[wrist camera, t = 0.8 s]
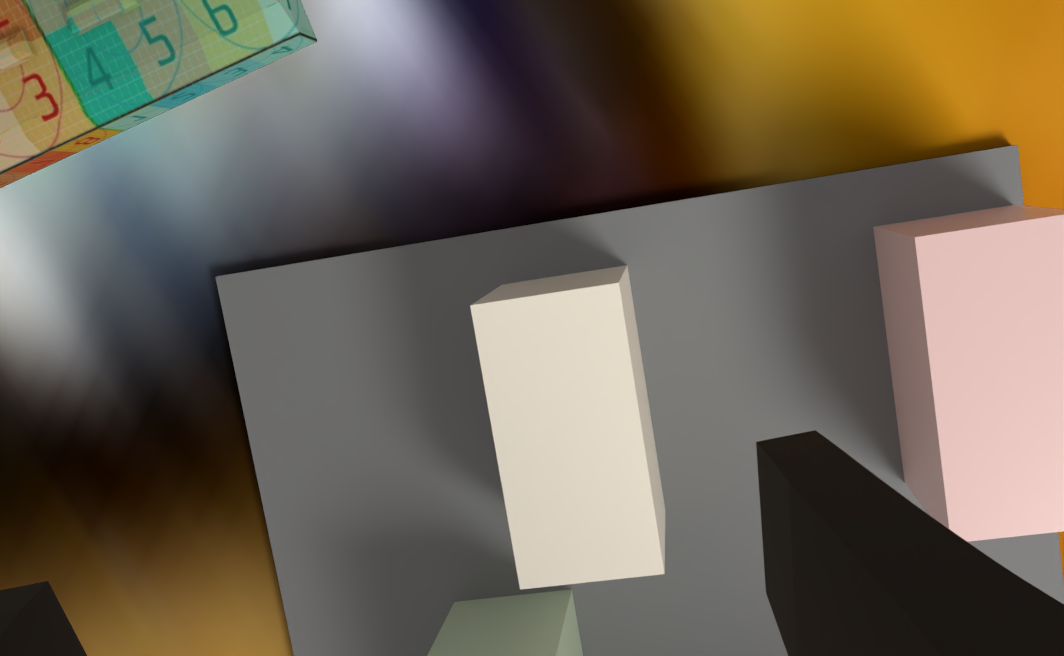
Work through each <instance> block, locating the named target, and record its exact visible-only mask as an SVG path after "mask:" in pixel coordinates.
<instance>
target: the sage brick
mask: <svg viewBox="0 0 1064 656" xmlns="http://www.w3.org/2000/svg"><path fill="white" fill-rule="evenodd" d="M427 656H583V653H582V647H581V641H580V635H579V629H578V623H577V617H576V611H575V605H574V599H573V593H572V589H570V590H561V591H552V592H542V593H533V594H523V595H514V596H505V597H495V598H486V599H476V600H467V601H458V602H454V604H453V606H452V608H451V610H450V612H449V614H448V616H447V618H446V620H445V622H444V624H443V626H442V628H441V629H440V631H439V633H438V635H437V637H436V639H435V641H434V643H433V645H432V647H431V649H430V651H429V653H428V655H427Z"/></svg>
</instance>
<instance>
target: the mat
mask: <svg viewBox="0 0 1064 656" xmlns="http://www.w3.org/2000/svg"><path fill="white" fill-rule="evenodd" d="M1010 205H1020V206H1024V202H1023V192H1022V183H1021V173H1020V164H1019V154H1018V145H1011V146H1005V147H999V148H993V149H987V150H981V151H975V152H969V153H962V154H956V155H950V156H944V157H938V158H932V159H926V160H920V161H914V162H908V163H902V164H896V165H890V166H883V167H877V168H871V169H865V170H859V171H853V172H847V173H841V174H835V175H829V176H823V177H817V178H810V179H804V180H798V181H792V182H786V183H780V184H774V185H768V186H762V187H756V188H750V189H744V190H738V191H731V192H725V193H719V194H713V195H707V196H701V197H695V198H689V199H683V200H677V201H671V202H665V203H658V204H652V205H646V206H640V207H634V208H628V209H622V210H616V211H610V212H604V213H598V214H592V215H585V216H579V217H573V218H567V219H561V220H555V221H549V222H543V223H537V224H531V225H525V226H519V227H513V228H506V229H500V230H494V231H488V232H482V233H476V234H470V235H464V236H458V237H452V238H446V239H440V240H433V241H427V242H421V243H415V244H409V245H403V246H397V247H391V248H385V249H379V250H373V251H367V252H361V253H354V254H348V255H342V256H336V257H330V258H324V259H318V260H312V261H306V262H300V263H294V264H288V265H281V266H275V267H269V268H263V269H257V270H251V271H245V272H239V273H233V274H227V275H221V276H216V282H217V287H218V292H219V297H220V302H221V306H222V311H223V316H224V321H225V326H226V331H227V335H228V340H229V345H230V350H231V355H232V359H233V364H234V369H235V374H236V379H237V384H238V388H239V393H240V398H241V403H242V408H243V413H244V417H245V422H246V427H247V432H248V437H249V442H250V446H251V451H252V456H253V461H254V466H255V470H256V475H257V480H258V485H259V490H260V495H261V499H262V504H263V509H264V514H265V519H266V524H267V528H268V533H269V538H270V543H271V548H272V553H273V557H274V562H275V567H276V572H277V577H278V582H279V586H280V591H281V596H282V601H283V606H284V610H285V615H286V620H287V625H288V630H289V635H290V639H291V644H292V649H293V654H294V656H427V655H428V653H429V651H430V649H431V647H432V645H433V643H434V641H435V639H436V637H437V635H438V633H439V631H440V629H441V628H442V626H443V624H444V622H445V620H446V618H447V616H448V614H449V612H450V610H451V608H452V606H453V604H454V602H458V601H467V600H476V599H486V598H495V597H505V596H514V595H523V594H533V593H542V592H552V591H561V590H570V589H572V593H573V599H574V605H575V611H576V617H577V623H578V629H579V635H580V641H581V647H582V653H583V656H788V653H787V651H786V648H785V645H784V643H783V640H782V637H781V634H780V631H779V628H778V626H777V623H776V620H775V617H774V614H773V611H772V608H771V606H770V603H769V600H768V597H767V594H766V585H765V570H764V555H763V540H762V525H761V510H760V494H759V479H758V464H757V449H756V442H758V441H763V440H768V439H773V438H778V437H783V436H788V435H793V434H798V433H803V432H809V431H814V430H816V431H817V432H819V433H820V434H821V435H823V436H824V437H826V438H827V439H828V440H830V441H831V442H832V443H834V444H835V445H836V446H838V447H839V448H840V449H842V450H843V451H844V452H846V453H847V454H848V455H850V456H851V457H852V458H854V459H855V460H856V461H857V462H859V463H860V464H861V465H863V466H864V467H865V468H867V469H868V470H869V471H871V472H872V473H873V474H875V475H876V476H877V477H879V478H880V479H881V480H882V481H884V482H885V483H886V484H888V485H889V486H890V487H892V488H893V489H895V490H896V491H897V492H899V493H900V494H901V495H903V496H904V497H905V498H907V499H908V500H909V501H911V502H912V503H913V504H915V505H916V506H917V507H919V508H920V509H922V510H923V511H924V512H926V513H927V511H926V510H925V509H924V507H923V506H922V505H921V503H920V502H919V501H918V499H917V498H916V497H915V496H914V494H913V493H912V492H911V490H910V489H909V488H908V486H907V485H906V484H905V480H904V472H903V464H902V456H901V448H900V440H899V432H898V424H897V416H896V408H895V400H894V391H893V383H892V375H891V367H890V359H889V351H888V343H887V335H886V327H885V319H884V311H883V303H882V294H881V286H880V278H879V270H878V262H877V254H876V246H875V238H874V230H873V227H875V226H882V225H888V224H894V223H901V222H907V221H914V220H920V219H927V218H933V217H939V216H946V215H952V214H959V213H965V212H972V211H978V210H984V209H991V208H997V207H1004V206H1010ZM625 265H627V266H628V273H629V279H630V286H631V292H632V299H633V305H634V312H635V318H636V324H637V331H638V337H639V344H640V350H641V357H642V363H643V369H644V376H645V382H646V389H647V395H648V402H649V408H650V415H651V421H652V427H653V434H654V440H655V447H656V453H657V460H658V466H659V473H660V479H661V485H662V492H663V498H664V505H665V574H661V575H652V576H642V577H633V578H624V579H614V580H605V581H596V582H586V583H577V584H568V585H558V586H549V587H540V588H530V589H521V590H520V586H519V581H518V575H517V569H516V564H515V558H514V552H513V546H512V541H511V535H510V529H509V524H508V518H507V512H506V507H505V501H504V495H503V490H502V484H501V478H500V473H499V467H498V461H497V455H496V450H495V444H494V438H493V433H492V427H491V421H490V416H489V410H488V404H487V399H486V393H485V387H484V382H483V376H482V370H481V364H480V359H479V353H478V347H477V342H476V336H475V330H474V325H473V319H472V313H471V308H470V305H472V304H473V303H475V302H476V301H478V300H479V299H481V298H482V297H484V296H485V295H487V294H489V293H490V292H492V291H493V290H495V289H496V288H498V287H499V286H501V285H503V284H509V283H516V282H522V281H528V280H535V279H541V278H548V277H554V276H561V275H567V274H573V273H580V272H586V271H593V270H599V269H605V268H612V267H618V266H625ZM927 514H928V513H927ZM928 515H929V514H928ZM968 543H970V544H971V545H973V546H974V547H976V548H977V549H979V550H980V551H981V552H983V553H984V554H986V555H987V556H989V557H990V558H992V559H993V560H994V561H996V562H997V563H999V564H1001V565H1002V566H1004V567H1005V568H1007V569H1008V570H1010V571H1011V572H1013V573H1014V574H1016V575H1017V576H1019V577H1020V578H1022V579H1023V580H1025V581H1027V582H1028V583H1030V584H1032V585H1033V586H1035V587H1036V588H1038V589H1040V590H1041V591H1043V592H1044V593H1046V594H1048V595H1049V596H1051V597H1053V598H1054V599H1056V600H1057V601H1059V602H1061V603H1062V604H1064V584H1063V574H1062V565H1061V555H1060V546H1059V536H1058V532H1053V533H1044V534H1034V535H1025V536H1016V537H1006V538H997V539H988V540H978V541H969V542H968Z"/></svg>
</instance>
